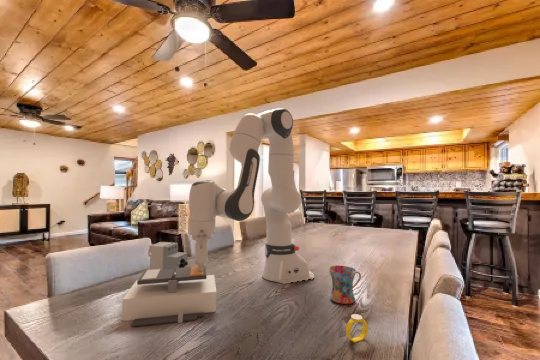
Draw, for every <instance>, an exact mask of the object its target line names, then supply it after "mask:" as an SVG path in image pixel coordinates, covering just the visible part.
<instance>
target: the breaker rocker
mask: <svg viewBox="0 0 540 360" xmlns="http://www.w3.org/2000/svg"><path fill="white" fill-rule="evenodd" d="M206 276H207V265H204V270H203V271H198V265H197V266H191V267H190V266H189V267H188V266H187V267H186V268H177V267H176V268H173V269H155V270H150V269H148V270H144V271H143V272H142V274H141V275H140V276H139V278H138V279H137V280H138V281H137V285H143V284H154V283H166V282H168V281H169V280H177V282H178V281H189V280H201V279H206Z"/></svg>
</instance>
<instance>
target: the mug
mask: <svg viewBox="0 0 540 360" xmlns="http://www.w3.org/2000/svg"><path fill="white" fill-rule="evenodd" d="M328 271H329V274H330V277H331V284H332V285H331V292H330V294H329V298H330V300H331V301H333V302H335V303H338V304H341V305H349V304H353V303H354V302H355V301H356V297H355V295H354V289H353V288H355V287H356V286H357V285H358V284H359V282H361V278H362V275H361V273H360V272H359V271H357V269H355V268H354V267H351V266H346V265H339V264H338V265H331V266H329V267H328ZM356 274H358V275H359V276H358V279H357V280H356V282H355V283H354V280H355V276H356ZM353 283H354V284H353Z"/></svg>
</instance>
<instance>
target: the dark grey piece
mask: <svg viewBox="0 0 540 360" xmlns="http://www.w3.org/2000/svg"><path fill="white" fill-rule="evenodd" d="M204 316H205V313H204V312H198V313H188V314H183V311H179V314H178V315H168V316H158V317H148V318H138V319H134V320H132V322H131V327H133V328H134V327H142V326H151V325H152V326H153V325H161V324H169V323H170V324H171V323H177V324H181V323H184V322H189V321H190V322H191V321H196V320H197V319H198V318H202V317H203V318H204Z"/></svg>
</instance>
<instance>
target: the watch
mask: <svg viewBox="0 0 540 360" xmlns="http://www.w3.org/2000/svg"><path fill="white" fill-rule="evenodd" d="M355 323H362V330H361V333H360V334H359V336H356V337H352V336H351V329H352V328H353V324H355ZM368 328H369V327H368V323H367V321H366V320H365V319H364V318H363V317H362V315H361V314H356V313H354V314H351V315H350V319H349V320H348V322H347V324H346V326H345V334H346V338H347V339H349V340H350V341H351V342H353V343H354V344H355V343H357V342H360V341H364V339H365V338H366V337H367V334H368V330H369V329H368Z"/></svg>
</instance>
